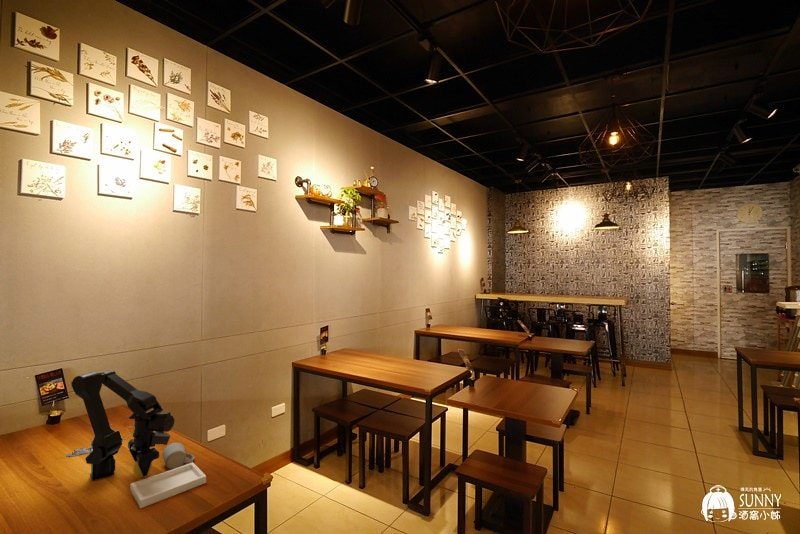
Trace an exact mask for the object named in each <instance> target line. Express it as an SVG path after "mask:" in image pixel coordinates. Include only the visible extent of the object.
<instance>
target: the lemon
mask: <svg viewBox="0 0 800 534" xmlns="http://www.w3.org/2000/svg"><path fill="white" fill-rule="evenodd" d="M152 464H153V463H152V462H151V465H150V468H149V471H148V474H149V473H150V471H151V470H152ZM133 473H134V475H135V476H136V477H140V478H142V479H144V477H145V476H143V474H142V472H141V470H140V468H139V466H138V464H137V461H136V462H135V461H134V465H133Z"/></svg>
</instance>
